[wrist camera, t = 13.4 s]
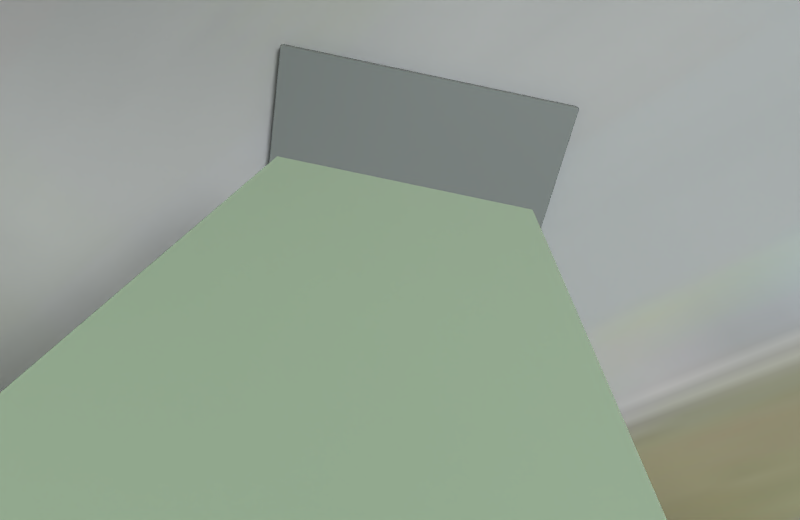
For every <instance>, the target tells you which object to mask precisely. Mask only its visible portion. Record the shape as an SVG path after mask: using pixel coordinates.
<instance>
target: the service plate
mask: <svg viewBox="0 0 800 520" xmlns="http://www.w3.org/2000/svg"><path fill="white" fill-rule="evenodd" d="M578 111H579V108H578V107H577V106H573V105H568V104H563V103H559V102H554V101H549V100H544V99H540V98H535V97H530V96H525V95H521V94H516V93H511V92H507V91H502V90H497V89H492V88H488V87H483V86H478V85H474V84H469V83H464V82H459V81H455V80H450V79H445V78H441V77H436V76H431V75H426V74H422V73H417V72H412V71H408V70H403V69H398V68H393V67H389V66H384V65H379V64H375V63H370V62H365V61H360V60H356V59H351V58H346V57H342V56H337V55H332V54H327V53H323V52H318V51H313V50H309V49H304V48H299V47H294V46H290V45H285V44H283V45H281V47H280V57H279V67H278V78H277V88H276V98H275V108H274V119H273V129H272V139H271V149H270V159H269V163H270V162H271V161H272V160H273V159H275V158H276V157H277V156H279V157H283V158H288V159H293V160H298V161H302V162H307V163H312V164H317V165H322V166H326V167H331V168H336V169H341V170H345V171H350V172H355V173H360V174H365V175H369V176H374V177H379V178H384V179H388V180H393V181H398V182H403V183H408V184H412V185H417V186H422V187H427V188H431V189H436V190H441V191H446V192H451V193H455V194H460V195H465V196H470V197H474V198H479V199H484V200H489V201H494V202H498V203H503V204H508V205H513V206H518V207H522V208H527V209H532V210H533V212H534V214H535V216H536V219H537V221H538V223H539V226H540V228H541V226H542V223H543V220H544V217H545V213H546V210H547V207H548V204H549V201H550V198H551V195H552V192H553V189H554V185H555V182H556V179H557V176H558V173H559V170H560V167H561V164H562V160H563V157H564V154H565V151H566V148H567V145H568V142H569V139H570V136H571V132H572V129H573V126H574V123H575V120H576V117H577V114H578Z"/></svg>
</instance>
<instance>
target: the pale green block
mask: <svg viewBox="0 0 800 520" xmlns="http://www.w3.org/2000/svg"><path fill="white" fill-rule="evenodd" d="M0 520H667V519H666V517H665V515H664V512H663V510H662V508H661V505H660V503H659V501H658V498H657V496H656V494H655V492H654V489H653V487H652V485H651V482H650V480H649V478H648V475H647V473H646V471H645V468H644V466H643V464H642V461H641V459H640V457H639V455H638V452H637V450H636V448H635V445H634V443H633V441H632V438H631V436H630V434H629V431H628V429H627V427H626V424H625V422H624V420H623V418H622V415H621V413H620V411H619V408H618V406H617V404H616V401H615V399H614V397H613V394H612V392H611V390H610V387H609V385H608V383H607V381H606V378H605V376H604V374H603V371H602V369H601V367H600V364H599V362H598V360H597V357H596V355H595V353H594V351H593V348H592V346H591V344H590V341H589V339H588V337H587V334H586V332H585V330H584V327H583V325H582V323H581V320H580V318H579V316H578V314H577V311H576V309H575V307H574V304H573V302H572V300H571V297H570V295H569V293H568V290H567V288H566V286H565V283H564V281H563V279H562V277H561V274H560V272H559V270H558V267H557V265H556V263H555V260H554V258H553V256H552V253H551V251H550V249H549V246H548V244H547V242H546V240H545V237H544V235H543V233H542V230H541V228H540V226H539V223H538V221H537V219H536V216H535V214H534V212H533V210H532V209H527V208H522V207H518V206H513V205H508V204H503V203H498V202H494V201H489V200H484V199H479V198H474V197H470V196H465V195H460V194H455V193H451V192H446V191H441V190H436V189H431V188H427V187H422V186H417V185H412V184H408V183H403V182H398V181H393V180H388V179H384V178H379V177H374V176H369V175H365V174H360V173H355V172H350V171H345V170H341V169H336V168H331V167H326V166H322V165H317V164H312V163H307V162H302V161H298V160H293V159H288V158H283V157H279V156H277V157H276V158H275V159H273V160H272V161H271V162H270V163H269V164H268V165H266V166H265V167H264V168H263V169H262V170H261V171H259V172H258V173H257V174H256V175H255V176H254V177H252V178H251V179H250V180H249V181H248V182H246V183H245V184H244V185H243V186H242V187H241V188H239V189H238V190H237V191H236V192H235V193H234V194H232V195H231V196H230V197H229V198H228V199H227V200H225V201H224V202H223V203H222V204H221V205H220V206H218V207H217V208H216V209H215V210H214V211H213V212H211V213H210V214H209V215H208V216H207V217H205V218H204V219H203V220H202V221H201V222H200V223H198V224H197V225H196V226H195V227H194V228H193V229H191V230H190V231H189V232H188V233H187V234H186V235H184V236H183V237H182V238H181V239H180V240H179V241H177V242H176V243H175V244H174V245H173V246H172V247H170V248H169V249H168V250H167V251H166V252H164V253H163V254H162V255H161V256H160V257H159V258H157V259H156V260H155V261H154V262H153V263H152V264H150V265H149V266H148V267H147V268H146V269H145V270H143V271H142V272H141V273H140V274H139V275H138V276H136V277H135V278H134V279H133V280H132V281H131V282H129V283H128V284H127V285H126V286H125V287H123V288H122V289H121V290H120V291H119V292H118V293H116V294H115V295H114V296H113V297H112V298H111V299H109V300H108V301H107V302H106V303H105V304H104V305H102V306H101V307H100V308H99V309H98V310H97V311H95V312H94V313H93V314H92V315H91V316H90V317H88V318H87V319H86V320H85V321H84V322H82V323H81V324H80V325H79V326H78V327H77V328H75V329H74V330H73V331H72V332H71V333H70V334H68V335H67V336H66V337H65V338H64V339H63V340H61V341H60V342H59V343H58V344H57V345H56V346H54V347H53V348H52V349H51V350H50V351H49V352H47V353H46V354H45V355H44V356H43V357H41V358H40V359H39V360H38V361H37V362H36V363H34V364H33V365H32V366H31V367H30V368H29V369H27V370H26V371H25V372H24V373H23V374H22V375H20V376H19V377H18V378H17V379H16V380H15V381H13V382H12V383H11V384H10V385H9V386H8V387H6V388H5V389H4V390H3V391H2V392H0Z"/></svg>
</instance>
